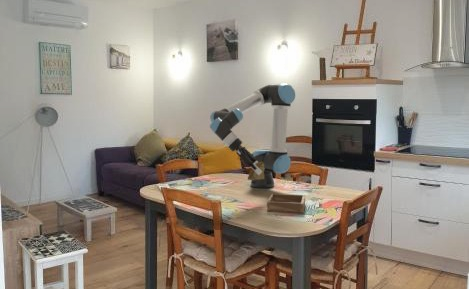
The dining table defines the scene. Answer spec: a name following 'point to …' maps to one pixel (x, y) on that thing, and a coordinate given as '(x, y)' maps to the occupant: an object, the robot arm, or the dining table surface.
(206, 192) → the dining table surface
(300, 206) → the crate
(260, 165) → the rock
